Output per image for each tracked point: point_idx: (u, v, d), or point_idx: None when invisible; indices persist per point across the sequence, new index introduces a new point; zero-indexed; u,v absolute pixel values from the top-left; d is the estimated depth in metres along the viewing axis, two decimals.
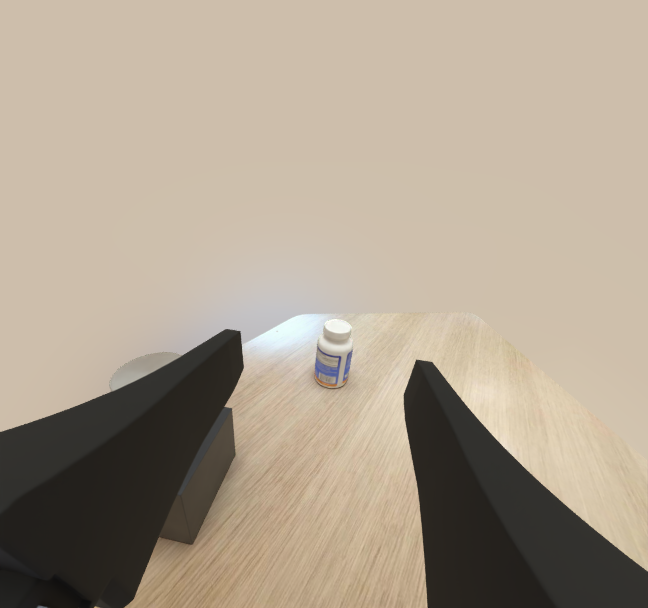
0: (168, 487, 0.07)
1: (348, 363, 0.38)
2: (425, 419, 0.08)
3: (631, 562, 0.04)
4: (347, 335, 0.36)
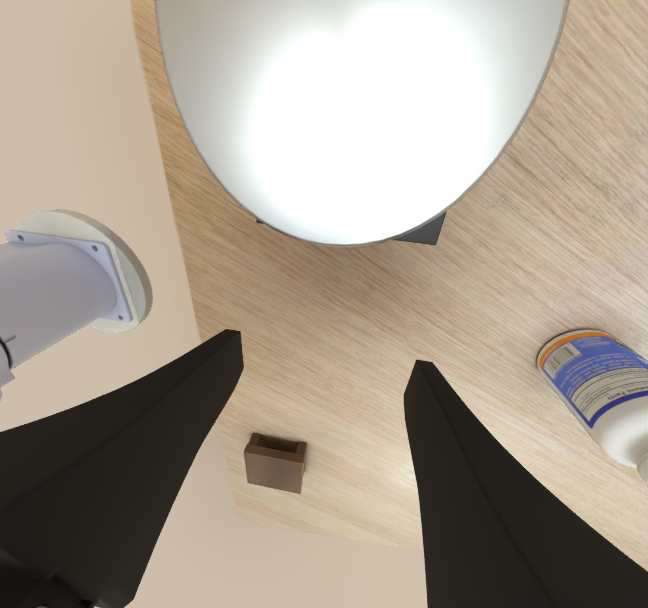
0: (168, 487, 0.07)
1: None
2: (425, 419, 0.08)
3: (631, 562, 0.04)
4: None
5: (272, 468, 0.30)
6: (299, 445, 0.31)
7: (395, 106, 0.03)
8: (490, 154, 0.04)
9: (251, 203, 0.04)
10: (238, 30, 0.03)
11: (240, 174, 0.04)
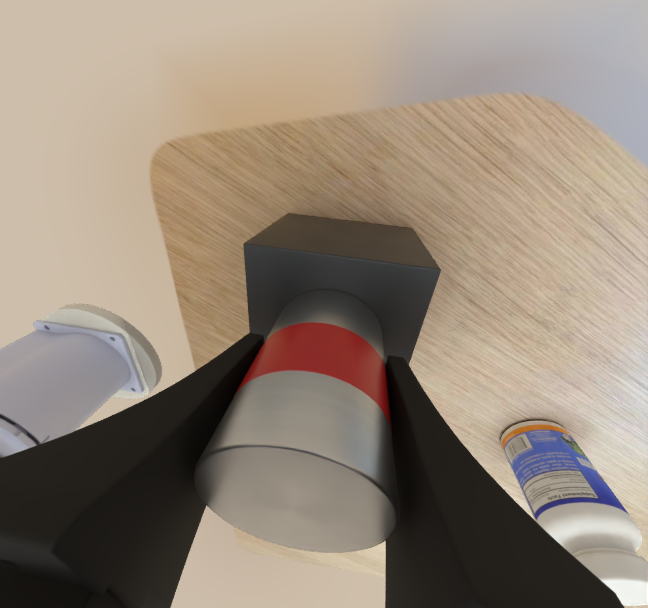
0: None
1: None
2: (392, 413, 0.08)
3: (561, 548, 0.04)
4: None
5: None
6: None
7: (321, 523, 0.06)
8: (374, 542, 0.06)
9: (245, 530, 0.07)
10: (237, 493, 0.06)
11: (238, 523, 0.07)
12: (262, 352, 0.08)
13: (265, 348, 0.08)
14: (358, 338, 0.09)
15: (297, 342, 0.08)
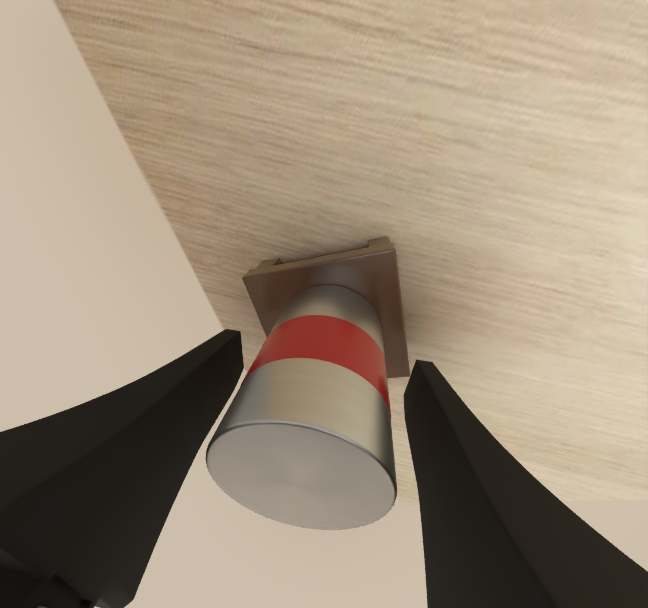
0: (168, 487, 0.07)
1: None
2: (425, 419, 0.08)
3: (631, 562, 0.04)
4: None
5: None
6: (372, 241, 0.12)
7: (325, 500, 0.07)
8: (374, 518, 0.07)
9: (253, 509, 0.08)
10: (246, 471, 0.07)
11: (246, 501, 0.07)
12: (268, 343, 0.09)
13: (270, 339, 0.09)
14: (358, 330, 0.09)
15: (301, 333, 0.08)
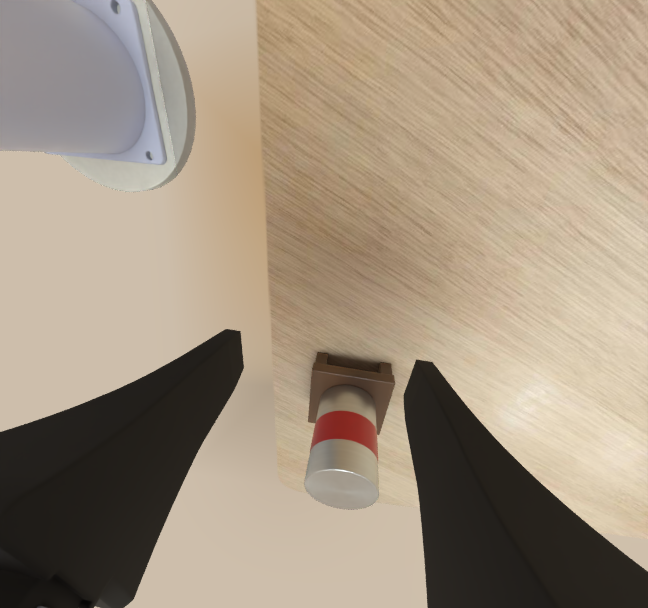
0: (168, 487, 0.07)
1: None
2: (425, 419, 0.08)
3: (631, 563, 0.04)
4: None
5: None
6: (382, 365, 0.23)
7: (348, 497, 0.17)
8: (363, 507, 0.18)
9: (312, 495, 0.18)
10: (323, 482, 0.17)
11: (312, 492, 0.18)
12: (331, 422, 0.19)
13: (332, 420, 0.19)
14: (371, 424, 0.20)
15: (349, 424, 0.19)
